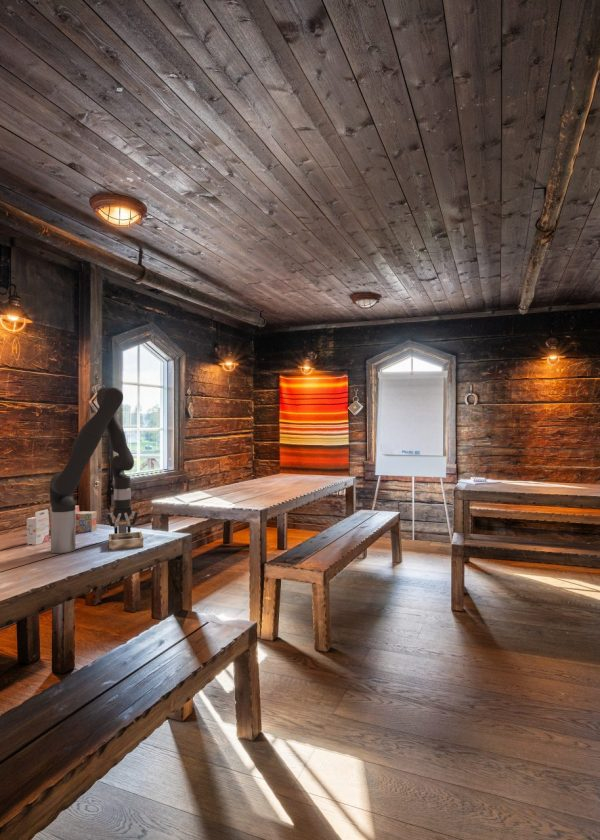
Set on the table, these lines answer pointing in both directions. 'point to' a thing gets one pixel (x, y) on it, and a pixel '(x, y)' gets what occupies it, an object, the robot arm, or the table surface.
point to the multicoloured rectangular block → (82, 520)
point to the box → (125, 541)
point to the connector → (122, 526)
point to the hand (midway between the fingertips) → (122, 534)
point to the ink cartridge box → (38, 528)
